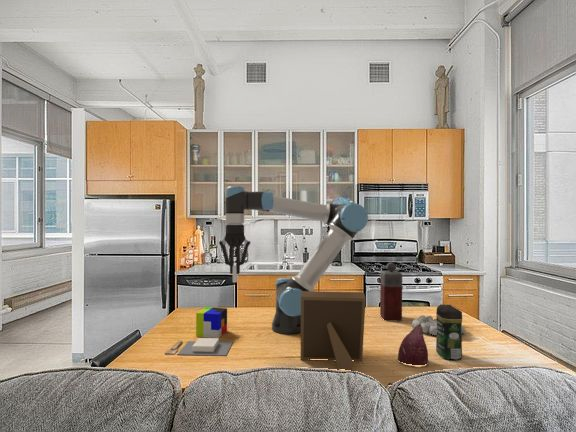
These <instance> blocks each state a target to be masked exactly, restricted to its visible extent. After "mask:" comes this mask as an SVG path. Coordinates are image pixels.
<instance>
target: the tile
mask: <svg viewBox="0 0 576 432" xmlns="http://www.w3.org/2000/svg"><path fill="white" fill-rule="evenodd" d="M195 341H196V342H195V343H194V345H193V346H192V351H193V352H214V351H215V349H216V347H217V346H218V344H219V342H220V337H219V338H211V337H197V340H195Z"/></svg>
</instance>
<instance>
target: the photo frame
mask: <svg viewBox="0 0 576 432" xmlns="http://www.w3.org/2000/svg"><path fill="white" fill-rule="evenodd" d="M366 301H367V300H366V295H365V293H364V291H363V292H359V291H358V292H357V291H356V292H355V291H353V292H352V291H315V290H314V291H301V332H300V361H311V360H310V359H328V360H336V361H335V362H336V365H337V369H338V368H339V369H345V370H353V368H352V367H353V362H352V360H354V361H362V362H363V351H364V337H365V336H364V333H365V319H366ZM308 359H309V360H308Z"/></svg>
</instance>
